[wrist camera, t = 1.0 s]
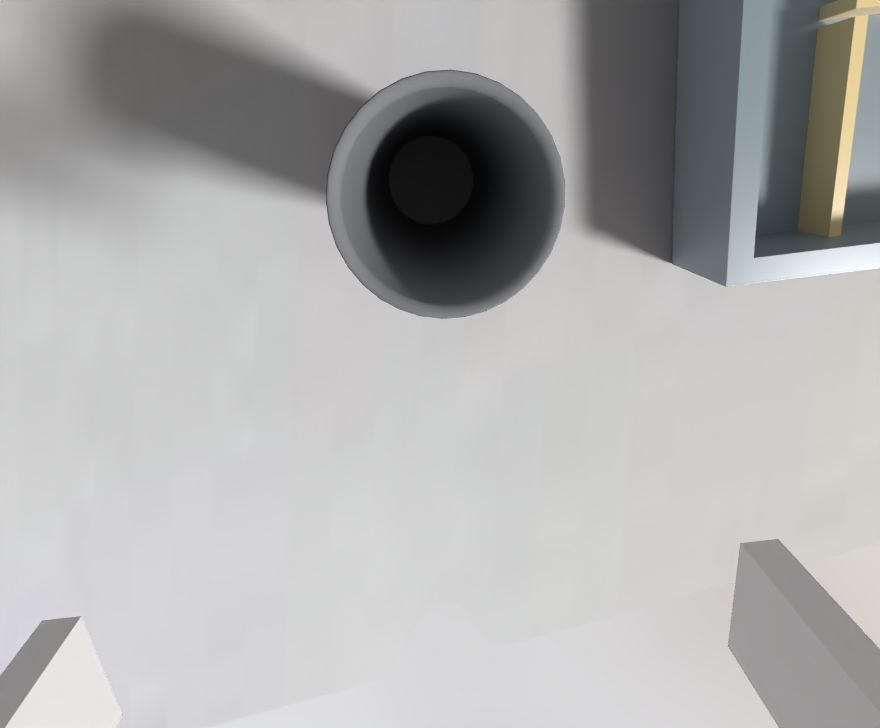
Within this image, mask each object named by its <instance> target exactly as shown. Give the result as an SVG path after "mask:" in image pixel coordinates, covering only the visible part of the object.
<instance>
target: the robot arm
mask: <svg viewBox="0 0 880 728" xmlns="http://www.w3.org/2000/svg"><path fill="white" fill-rule="evenodd" d="M728 647H729V649H730V650H731V652H732V653H733V655H734V657H735V658H736V660H737V662H738V663H739V665H740V666H741V668H742V670H743V671H744V673H745V674H746V676H747V677H748V679H749V681H750V682H751V684H752V685H753V687H754V688H755V690H756V692H757V693H758V695H759V697H760V698H761V700H762V701H763V703H764V704H765V706H766V708H767V709H768V711H769V712H770V714H771V715H772V717H773V719H774V720H775V722H776V724H777V725H778V727H779V728H880V649H879V648H878V647H877V646H876V645H875V644H874V642H873V641H872V640H871V639H870V638H869V637H868V636H867V635H866V634H865V633H864V632H863V631H862V629H861V628H860V627H859V626H858V625H857V624H856V623H855V622H854V621H853V620H852V619H851V618H850V616H849V615H848V614H847V613H846V612H845V611H844V610H843V609H842V608H841V607H840V606H839V605H838V603H837V602H836V601H835V600H834V599H833V598H832V597H831V596H830V595H829V594H828V593H827V591H826V590H825V589H824V588H823V587H822V586H821V585H820V584H819V583H818V582H817V581H816V580H815V578H813V576H812V575H811V574H810V573H809V572H808V571H807V570H806V569H805V568H804V567H803V565H802V564H801V563H800V562H799V561H798V560H797V559H796V558H795V557H794V556H793V555H792V554H791V552H790V551H789V550H788V549H787V548H786V547H785V546H784V545H783V544H782V543H781V542H780V541H779V539H775V540H766V541H757V542H748V543H740V550H739V559H738V567H737V575H736V583H735V592H734V600H733V608H732V616H731V625H730V633H729V641H728ZM122 715H123V714H122V712H121V709H120V707H119V705H118V702H117V700H116V698H115V695H114V693H113V691H112V688H111V686H110V683H109V681H108V679H107V676H106V674H105V672H104V669H103V667H102V664H101V662H100V660H99V657H98V655H97V653H96V650H95V648H94V645H93V643H92V641H91V638H90V636H89V634H88V631H87V629H86V626H85V624H84V622H83V619H82V617H81V616H80V617H71V618H62V619H53V620H44V621H42V622H41V623H40V624H39V626H38V627H37V628H36V629H35V631H34V632H33V633H32V635H31V636H30V637H29V639H28V640H27V641H26V643H25V644H24V645H23V647H22V648H21V649H20V651H19V652H18V653H17V654H16V656H15V657H14V658H13V660H12V661H11V662H10V664H9V665H8V666H7V668H6V669H5V670H4V672H3V673H2V674H1V676H0V728H116V727H117V725H118V723H119V721H120V719H121V717H122Z"/></svg>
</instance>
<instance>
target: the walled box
mask: <svg viewBox="0 0 880 728" xmlns="http://www.w3.org/2000/svg"><path fill="white" fill-rule="evenodd" d="M672 264H674V265H676V266H678V267H681V268H683V269H685V270H688V271H690V272H693V273H695V274H697V275H700V276H702V277H704V278H707V279H709V280H711V281H714V282H716V283H719V284H721V285H723V286H726V287H728V286H737V285H745V284H753V283H761V282H770V281H778V280H786V279H794V278H803V277H811V276H819V275H827V274H835V273H844V272H852V271H860V270H868V269H877V268H880V0H679V20H678V57H677V94H676V131H675V168H674V205H673V242H672Z"/></svg>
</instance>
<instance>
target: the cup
mask: <svg viewBox="0 0 880 728" xmlns="http://www.w3.org/2000/svg"><path fill="white" fill-rule="evenodd" d="M326 204H327V212H328V219H329V225H330V228H331V231H332V234H333V237H334V240H335V243H336V246H337V248H338V250H339V252H340V254H341V255H342V257H343V259H344V261H345V263H346V264H347V266H348V268H349V269H350V270H351V271H352V272H353V274H354V275H355V276H356V277H357V278H358V280H359V281H360V282H361V283H362V284H363V285H364V286H365V287H366V288H367V289H369V290H370V291H371V292H372V293H374V294H375V295H376V296H377V297H378V298H380V299H381V300H383V301H385V302H387V303H389V304H391V305H392V306H394V307H396V308H398V309H400V310H403V311H406V312H409V313H412V314H416V315H419V316H424V317H433V318H441V319H444V318H457V317H466V316H470V315H474V314H477V313H481V312H484V311H487V310H489V309H491V308H493V307H495V306H497V305H499V304H501V303H503V302H506V301H507V300H508V299H510V298H511V297H512V296H514V295H515V294H516V293H518V292H519V291H520V290H522V289H523V288H524V287H525V286H526V285H527V284H528V283H529V282H530V281H531V279H532V278H533V277H534V276H535V275H536V274H537V273H538V272H539V271H540V269H541V267H542V266H543V264H544V263H545V261H546V259H547V258H548V256H549V255H550V253H551V251H552V249H553V246H554V244H555V241H556V239H557V236H558V234H559V231H560V228H561V222H562V217H563V212H564V207H565V180H564V175H563V170H562V164H561V159H560V156H559V153H558V151H557V148H556V146H555V143H554V141H553V138H552V136H551V134H550V132H549V131H548V129H547V128H546V126H545V125H544V123H543V121H542V120H541V118H540V117H539V115H538V114H537V113H536V112H535V111H534V110H533V109H532V108H531V107H530V106H529V105H528V104H527V103H526V102H525V101H524V100H523V99H522V98H521V97H520V96H519V95H517V94H516V93H514V92H513V91H511V90H510V89H508V88H507V87H505V86H504V85H502V84H501V83H499V82H496V81H494V80H491V79H489V78H486V77H483V76H481V75H478V74H475V73H469V72H462V71H455V70H442V71H427V72H423V73H419V74H416V75H413V76H409V77H406V78H402V79H400V80H398V81H397V82H395V83H393V84H391V85H389V86H387V87H386V88H384V89H382V90H380V91H379V92H378V93H376V94H375V95H374V96H373V97H372V98H371V99H369V100H368V101H367V102H366V103H365V104H364V105H363V106H361V107H360V108H359V110H358V111H357V112H356V114H355V115H354V116H353V118H352V119H351V120H350V122H349V123H348V124H347V125H346V127H345V128H344V130H343V132H342V134H341V137H340V139H339V141H338V143H337V145H336V147H335V149H334V151H333V155H332V159H331V163H330V167H329V171H328V175H327V190H326Z"/></svg>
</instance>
